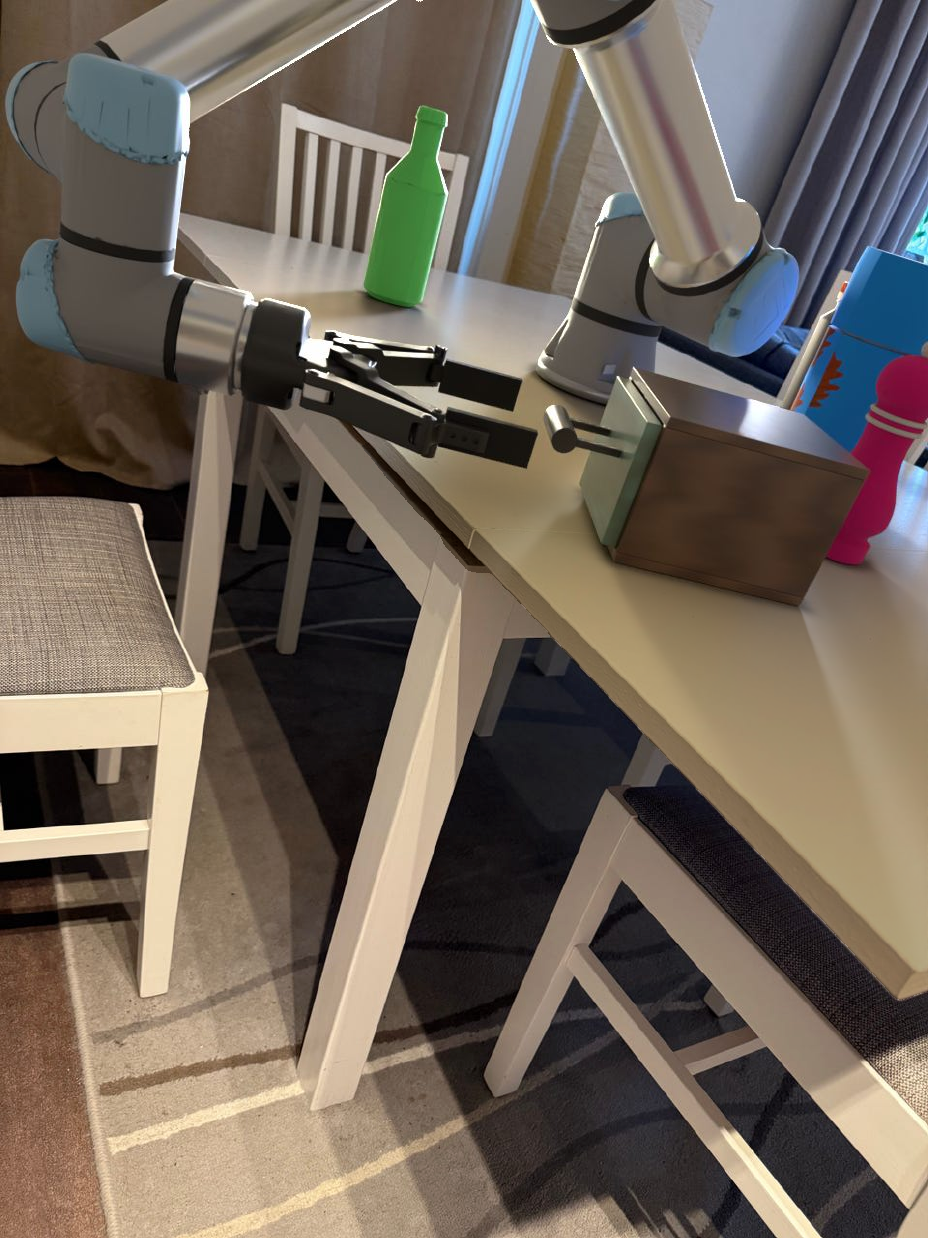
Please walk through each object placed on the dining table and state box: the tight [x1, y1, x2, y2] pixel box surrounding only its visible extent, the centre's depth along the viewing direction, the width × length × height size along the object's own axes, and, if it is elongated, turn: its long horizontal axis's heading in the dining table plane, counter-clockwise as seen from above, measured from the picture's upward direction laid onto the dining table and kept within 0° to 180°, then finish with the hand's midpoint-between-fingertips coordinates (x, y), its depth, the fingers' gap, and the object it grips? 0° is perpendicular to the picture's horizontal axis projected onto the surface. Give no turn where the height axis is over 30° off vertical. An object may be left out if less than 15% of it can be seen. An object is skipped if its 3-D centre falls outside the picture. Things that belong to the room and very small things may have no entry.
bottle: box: [363, 105, 449, 308], centre depth 124 cm, size 9×9×25 cm
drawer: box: [542, 376, 664, 547], centre depth 71 cm, size 20×12×10 cm, turn 91°
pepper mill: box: [825, 342, 928, 566], centre depth 80 cm, size 7×7×20 cm
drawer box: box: [606, 367, 870, 607], centre depth 72 cm, size 16×14×12 cm
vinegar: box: [779, 281, 849, 410], centre depth 125 cm, size 7×7×20 cm
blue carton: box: [790, 245, 928, 453], centre depth 94 cm, size 11×11×25 cm
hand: (524, 420), depth 69 cm, fingers open, 13 cm apart
